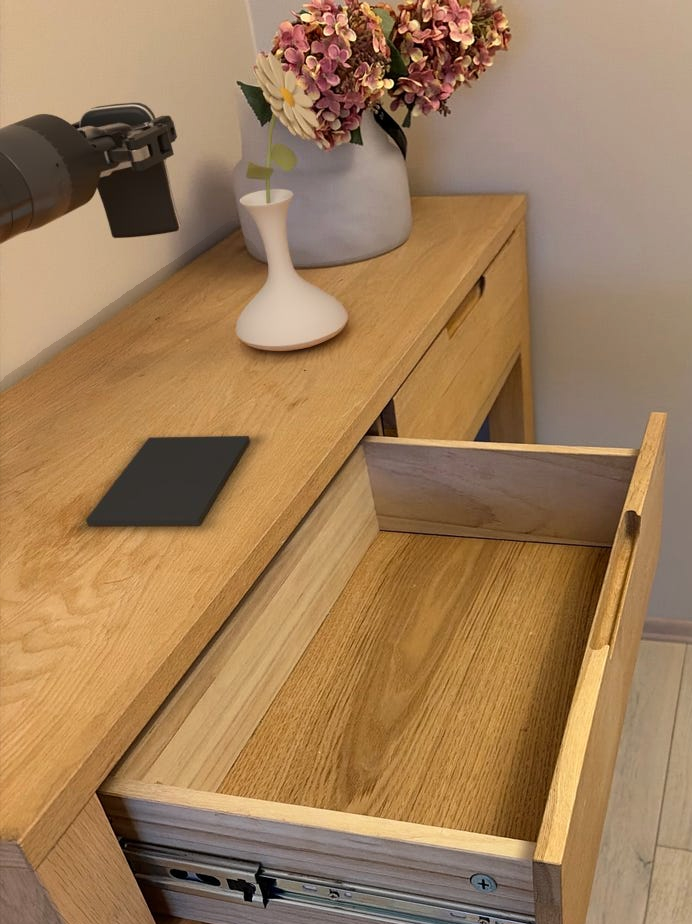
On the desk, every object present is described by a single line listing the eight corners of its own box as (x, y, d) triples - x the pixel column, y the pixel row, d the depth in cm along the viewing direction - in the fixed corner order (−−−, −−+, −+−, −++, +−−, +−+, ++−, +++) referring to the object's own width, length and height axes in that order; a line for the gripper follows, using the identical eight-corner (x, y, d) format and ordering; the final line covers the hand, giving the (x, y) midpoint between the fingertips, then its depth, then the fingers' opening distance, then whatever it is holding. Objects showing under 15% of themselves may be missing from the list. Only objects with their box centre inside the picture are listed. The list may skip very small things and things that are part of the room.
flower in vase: (302, 369, 94) (242, 75, 79) (216, 351, 100) (143, 71, 84) (382, 320, 103) (342, 44, 87) (298, 305, 108) (246, 42, 92)
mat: (88, 526, 75) (85, 519, 75) (150, 443, 85) (148, 437, 85) (199, 526, 74) (197, 519, 74) (250, 441, 84) (248, 435, 83)
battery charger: (186, 222, 100) (154, 96, 93) (181, 233, 97) (148, 104, 90) (116, 230, 100) (79, 104, 92) (110, 241, 97) (71, 112, 89)
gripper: (87, 124, 78) (190, 81, 90) (-60, 126, 82) (58, 84, 94) (116, 223, 83) (210, 169, 95) (-25, 220, 86) (83, 169, 98)
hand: (134, 127), depth 94 cm, fingers closed on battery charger, 7 cm apart
